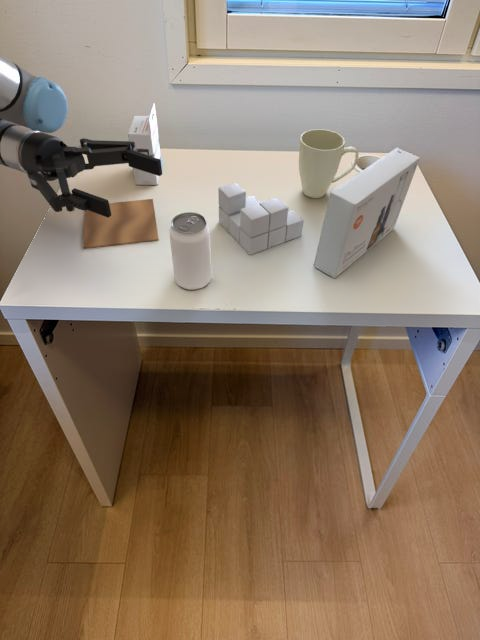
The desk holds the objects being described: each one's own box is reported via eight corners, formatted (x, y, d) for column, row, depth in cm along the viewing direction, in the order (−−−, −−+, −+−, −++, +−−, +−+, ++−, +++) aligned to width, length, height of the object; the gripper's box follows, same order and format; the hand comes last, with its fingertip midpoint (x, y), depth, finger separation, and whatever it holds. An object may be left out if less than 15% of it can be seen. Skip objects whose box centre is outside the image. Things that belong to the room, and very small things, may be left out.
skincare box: (336, 281, 83) (355, 204, 71) (312, 267, 85) (325, 190, 74) (397, 229, 93) (421, 155, 82) (373, 218, 96) (394, 144, 84)
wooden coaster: (83, 248, 88) (83, 247, 87) (85, 206, 97) (84, 205, 97) (158, 240, 90) (158, 239, 89) (152, 199, 99) (152, 198, 99)
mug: (317, 210, 97) (326, 157, 89) (285, 189, 103) (290, 137, 94) (352, 193, 102) (364, 140, 93) (320, 174, 107) (328, 122, 98)
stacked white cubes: (301, 236, 91) (307, 201, 86) (249, 255, 87) (251, 220, 81) (268, 205, 98) (270, 171, 92) (218, 222, 94) (218, 187, 88)
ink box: (141, 165, 108) (131, 100, 97) (162, 165, 108) (155, 101, 97) (135, 185, 103) (124, 118, 92) (157, 185, 103) (149, 119, 92)
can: (218, 275, 83) (217, 219, 74) (197, 296, 80) (193, 240, 71) (189, 262, 86) (184, 206, 77) (167, 282, 82) (159, 225, 73)
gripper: (89, 144, 91) (180, 172, 85) (-13, 208, 76) (88, 249, 70) (79, 105, 85) (176, 132, 79) (-32, 166, 71) (76, 206, 64)
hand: (135, 187), depth 74 cm, fingers open, 13 cm apart
